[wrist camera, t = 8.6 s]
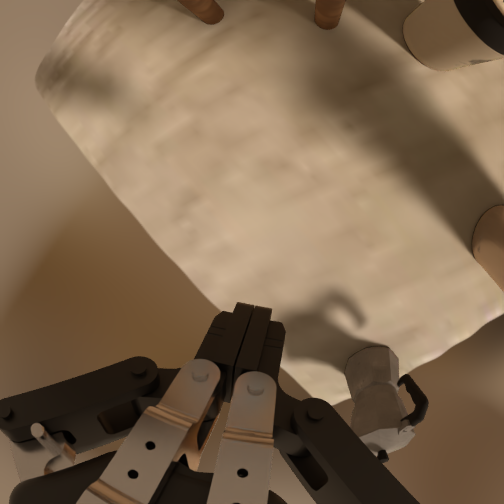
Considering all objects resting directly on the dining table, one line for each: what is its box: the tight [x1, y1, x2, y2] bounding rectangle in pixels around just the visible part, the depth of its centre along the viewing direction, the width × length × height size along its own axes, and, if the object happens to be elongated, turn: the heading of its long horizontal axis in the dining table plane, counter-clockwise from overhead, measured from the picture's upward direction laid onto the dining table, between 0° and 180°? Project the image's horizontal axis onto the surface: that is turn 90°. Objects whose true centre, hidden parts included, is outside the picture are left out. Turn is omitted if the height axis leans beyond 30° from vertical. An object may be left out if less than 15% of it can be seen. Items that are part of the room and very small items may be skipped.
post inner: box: [315, 0, 346, 30], centre depth 18 cm, size 3×3×9 cm
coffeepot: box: [344, 347, 428, 463], centre depth 32 cm, size 15×9×18 cm, turn 159°
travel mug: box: [403, 0, 504, 71], centre depth 12 cm, size 8×8×18 cm
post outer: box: [177, 0, 224, 24], centre depth 20 cm, size 3×3×9 cm
